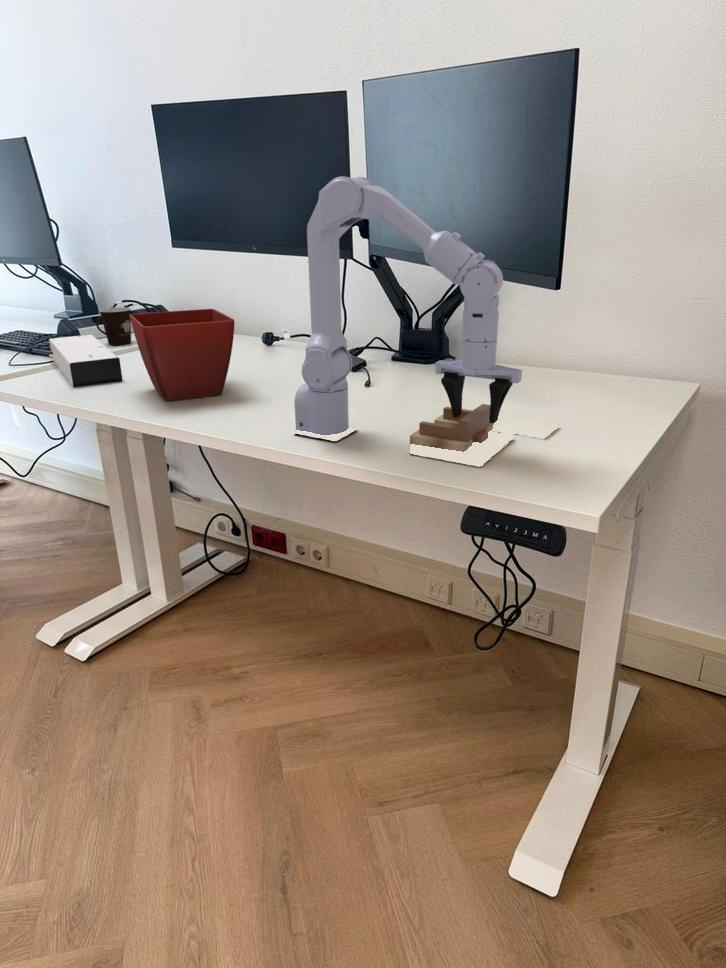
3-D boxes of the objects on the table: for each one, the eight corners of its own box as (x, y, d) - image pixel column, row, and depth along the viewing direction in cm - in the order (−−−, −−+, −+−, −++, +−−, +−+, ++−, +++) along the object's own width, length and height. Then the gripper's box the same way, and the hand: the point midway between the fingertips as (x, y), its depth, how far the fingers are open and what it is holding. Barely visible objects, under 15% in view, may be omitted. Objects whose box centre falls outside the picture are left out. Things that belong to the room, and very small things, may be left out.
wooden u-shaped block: (406, 454, 120) (406, 437, 119) (444, 428, 133) (445, 413, 132) (480, 467, 114) (481, 450, 113) (513, 439, 127) (514, 423, 126)
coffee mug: (128, 339, 216) (123, 306, 212) (139, 344, 210) (135, 309, 206) (90, 345, 209) (84, 310, 205) (101, 349, 203) (95, 314, 199)
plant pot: (219, 377, 171) (213, 307, 164) (241, 397, 155) (235, 319, 149) (138, 387, 164) (128, 313, 157) (153, 408, 148) (142, 327, 141)
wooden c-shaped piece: (419, 434, 121) (419, 414, 119) (445, 417, 130) (446, 398, 128) (467, 442, 117) (468, 422, 115) (491, 424, 126) (492, 405, 124)
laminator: (123, 383, 169) (119, 357, 167) (68, 390, 163) (64, 363, 161) (95, 356, 196) (92, 334, 194) (48, 361, 191) (44, 339, 188)
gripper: (428, 339, 115) (426, 419, 121) (514, 348, 109) (507, 431, 114) (446, 332, 121) (443, 408, 126) (528, 340, 114) (521, 420, 120)
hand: (474, 418), depth 120 cm, fingers open, 6 cm apart
